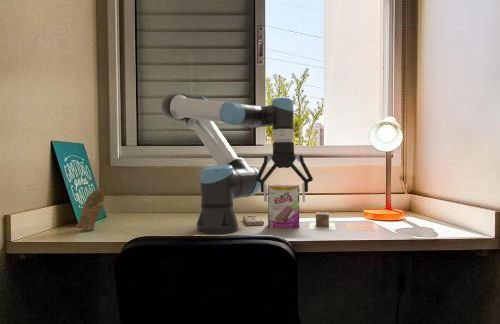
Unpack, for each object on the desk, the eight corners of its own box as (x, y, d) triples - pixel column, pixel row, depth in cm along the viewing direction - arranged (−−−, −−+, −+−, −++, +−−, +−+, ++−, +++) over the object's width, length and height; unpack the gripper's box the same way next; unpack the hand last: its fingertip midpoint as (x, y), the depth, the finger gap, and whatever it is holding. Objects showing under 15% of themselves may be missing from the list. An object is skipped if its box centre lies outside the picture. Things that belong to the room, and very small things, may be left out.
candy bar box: (267, 232, 129) (267, 185, 128) (268, 229, 134) (268, 184, 133) (299, 232, 128) (299, 185, 127) (299, 229, 133) (299, 184, 132)
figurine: (74, 231, 134) (73, 190, 133) (93, 227, 141) (92, 188, 140) (90, 233, 130) (89, 191, 129) (109, 229, 137) (108, 189, 137)
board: (306, 233, 125) (306, 229, 125) (307, 225, 139) (307, 221, 139) (379, 236, 121) (379, 231, 121) (373, 227, 134) (373, 223, 134)
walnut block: (315, 226, 129) (315, 214, 129) (316, 224, 134) (316, 212, 134) (328, 227, 128) (328, 214, 128) (328, 224, 133) (328, 212, 133)
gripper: (246, 142, 129) (248, 202, 129) (319, 140, 124) (320, 202, 124) (250, 143, 136) (251, 200, 136) (319, 141, 131) (320, 200, 132)
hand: (284, 201), depth 130 cm, fingers open, 13 cm apart
